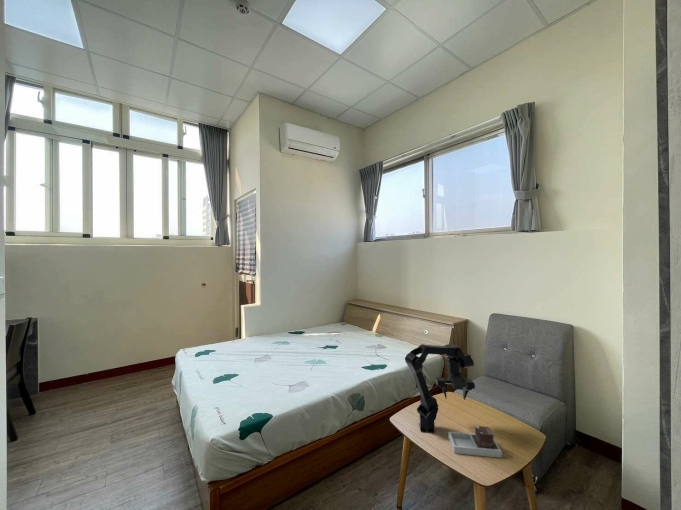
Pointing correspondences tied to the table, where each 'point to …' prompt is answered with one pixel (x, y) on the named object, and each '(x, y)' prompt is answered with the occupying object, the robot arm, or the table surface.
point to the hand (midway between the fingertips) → (454, 398)
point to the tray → (471, 445)
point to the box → (484, 437)
